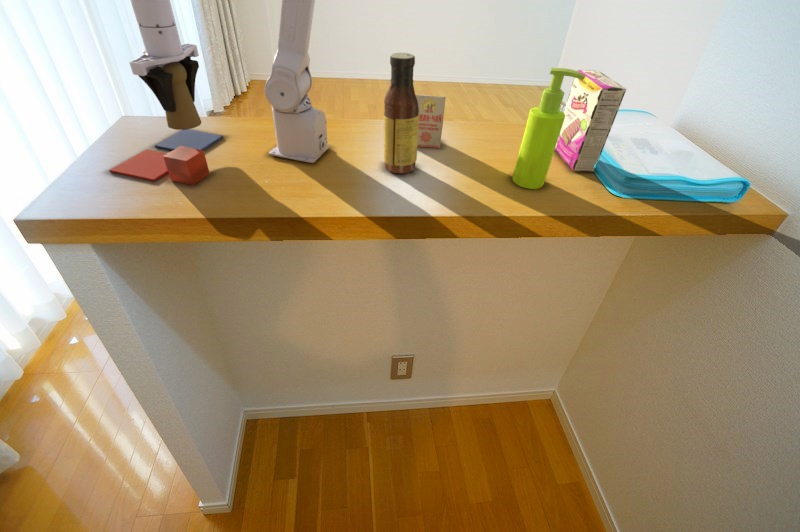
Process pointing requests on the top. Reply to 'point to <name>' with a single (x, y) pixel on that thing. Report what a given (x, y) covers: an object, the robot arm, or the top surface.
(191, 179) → the red block
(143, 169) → the red mat
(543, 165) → the soap dispenser
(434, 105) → the beige carton box
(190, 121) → the cork
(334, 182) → the top surface
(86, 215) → the top surface
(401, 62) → the sauce bottle
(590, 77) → the candy bar box
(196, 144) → the blue mat
